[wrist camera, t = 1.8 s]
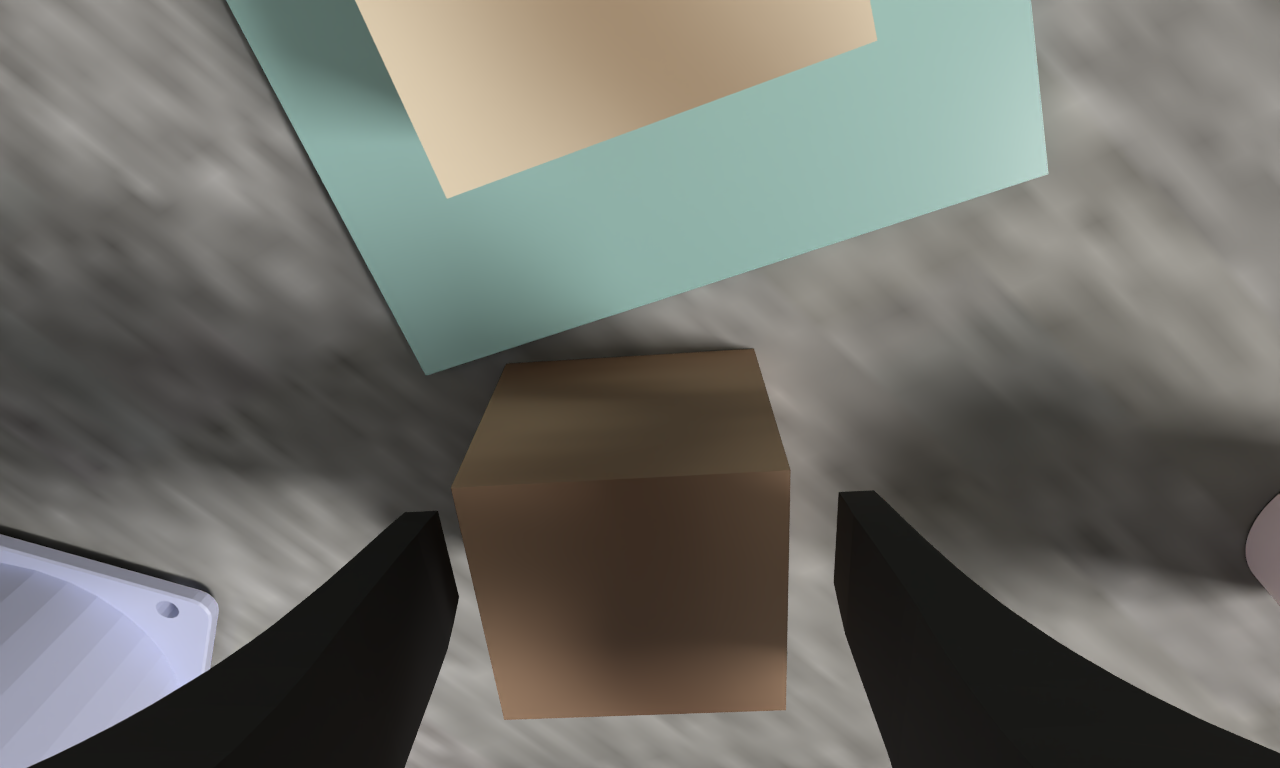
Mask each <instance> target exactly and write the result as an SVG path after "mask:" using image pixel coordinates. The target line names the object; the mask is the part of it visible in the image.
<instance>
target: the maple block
mask: <svg viewBox="0 0 1280 768" xmlns="http://www.w3.org/2000/svg"><path fill="white" fill-rule="evenodd" d="M355 1H356V3H357V6H358V8H359V10H360V12H361V14H362V16H363V19H364V21H365V23H366V25H367V27H368V29H369V31H370V34H371V36H372V38H373V40H374V42H375V44H376V47H377V49H378V51H379V53H380V55H381V57H382V60H383V62H384V64H385V66H386V68H387V70H388V73H389V75H390V77H391V79H392V81H393V83H394V85H395V88H396V90H397V92H398V94H399V96H400V98H401V101H402V103H403V105H404V107H405V109H406V111H407V114H408V116H409V118H410V120H411V122H412V124H413V127H414V129H415V131H416V133H417V135H418V137H419V140H420V142H421V144H422V146H423V148H424V150H425V152H426V155H427V157H428V159H429V161H430V163H431V165H432V168H433V170H434V172H435V174H436V176H437V178H438V181H439V183H440V185H441V187H442V189H443V191H444V194H445V196H446V198H447V199H448V198H451V197H453V196H456V195H459V194H461V193H464V192H467V191H470V190H472V189H475V188H478V187H481V186H483V185H486V184H489V183H491V182H494V181H497V180H500V179H502V178H505V177H508V176H510V175H513V174H516V173H519V172H521V171H524V170H527V169H529V168H532V167H535V166H538V165H540V164H543V163H546V162H549V161H551V160H554V159H557V158H559V157H562V156H565V155H568V154H570V153H573V152H576V151H578V150H581V149H584V148H587V147H589V146H592V145H595V144H598V143H600V142H603V141H606V140H608V139H611V138H614V137H617V136H619V135H622V134H625V133H627V132H630V131H633V130H636V129H638V128H641V127H644V126H646V125H649V124H652V123H655V122H657V121H660V120H663V119H666V118H668V117H671V116H674V115H676V114H679V113H682V112H685V111H687V110H690V109H693V108H695V107H698V106H701V105H704V104H706V103H709V102H712V101H714V100H717V99H720V98H723V97H725V96H728V95H731V94H734V93H736V92H739V91H742V90H744V89H747V88H750V87H753V86H755V85H758V84H761V83H763V82H766V81H769V80H772V79H774V78H777V77H780V76H782V75H785V74H788V73H791V72H793V71H796V70H799V69H802V68H804V67H807V66H810V65H812V64H815V63H818V62H821V61H823V60H826V59H829V58H831V57H834V56H837V55H840V54H842V53H845V52H848V51H851V50H853V49H856V48H859V47H861V46H864V45H867V44H870V43H872V42H875V41H877V36H876V30H875V25H874V19H873V14H872V9H871V3H870V0H355Z"/></svg>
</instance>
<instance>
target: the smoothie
mask: <svg viewBox="0 0 1280 768" xmlns="http://www.w3.org/2000/svg"><path fill="white" fill-rule="evenodd" d="M1246 560H1247V563H1248V566H1249V568H1250V570H1251V571H1252V573H1253V574H1254V576H1255V577H1256V578H1257V579H1258V580H1259V582H1260V583H1261V584H1262V585H1263V586H1264V588H1265V589H1266V590H1267V591H1268V592H1269V594H1270V595H1271V596H1272V597H1273V598H1274V600H1275V601H1276V602H1277V603H1278V604H1279V606H1280V494H1278V495H1277V496H1276V497H1275V498H1274V499H1273V500H1272V501H1271V502H1270V503H1269V504H1268V505H1267V506H1266V507H1265V508H1264V509H1263V510H1262V512H1261V513H1260V514H1259V516H1258V517H1257V519H1256V520H1255V522H1254V524H1253V526H1252V527H1251V530H1250V532H1249V535H1248V538H1247V542H1246Z"/></svg>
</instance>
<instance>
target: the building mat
mask: <svg viewBox="0 0 1280 768" xmlns="http://www.w3.org/2000/svg"><path fill="white" fill-rule="evenodd" d="M226 1H227V3H228V5H229V7H230V9H231V10H232V12H233V14H234V16H235V18H236V20H237V22H238V24H239V25H240V27H241V29H242V31H243V33H244V35H245V37H246V39H247V41H248V42H249V44H250V46H251V48H252V50H253V52H254V54H255V56H256V57H257V59H258V61H259V63H260V65H261V67H262V69H263V71H264V72H265V74H266V76H267V78H268V80H269V82H270V84H271V86H272V88H273V89H274V91H275V93H276V95H277V97H278V99H279V101H280V103H281V104H282V106H283V108H284V110H285V112H286V114H287V116H288V118H289V119H290V121H291V123H292V125H293V127H294V129H295V131H296V133H297V135H298V136H299V138H300V140H301V142H302V144H303V146H304V148H305V150H306V151H307V153H308V155H309V157H310V159H311V161H312V163H313V165H314V166H315V168H316V170H317V172H318V174H319V176H320V178H321V180H322V182H323V183H324V185H325V187H326V189H327V191H328V193H329V195H330V197H331V198H332V200H333V202H334V204H335V206H336V208H337V210H338V212H339V213H340V215H341V217H342V219H343V221H344V223H345V225H346V227H347V229H348V230H349V232H350V234H351V236H352V238H353V240H354V242H355V244H356V245H357V247H358V249H359V251H360V253H361V255H362V257H363V259H364V260H365V262H366V264H367V266H368V268H369V270H370V272H371V274H372V276H373V277H374V279H375V281H376V283H377V285H378V287H379V289H380V291H381V292H382V294H383V296H384V298H385V300H386V302H387V304H388V306H389V307H390V309H391V311H392V313H393V315H394V317H395V319H396V321H397V323H398V324H399V326H400V328H401V330H402V332H403V334H404V336H405V338H406V339H407V341H408V343H409V345H410V347H411V349H412V351H413V353H414V354H415V356H416V358H417V360H418V362H419V364H420V366H421V368H422V370H423V371H424V373H425V375H426V376H427V375H430V374H433V373H436V372H439V371H442V370H445V369H448V368H451V367H454V366H458V365H461V364H464V363H467V362H470V361H473V360H476V359H479V358H482V357H485V356H488V355H492V354H495V353H498V352H501V351H504V350H507V349H510V348H513V347H516V346H519V345H522V344H525V343H529V342H532V341H535V340H538V339H541V338H544V337H547V336H550V335H553V334H556V333H559V332H562V331H566V330H569V329H572V328H575V327H578V326H581V325H584V324H587V323H590V322H593V321H596V320H599V319H603V318H606V317H609V316H612V315H615V314H618V313H621V312H624V311H627V310H630V309H633V308H637V307H640V306H643V305H646V304H649V303H652V302H655V301H658V300H661V299H664V298H667V297H670V296H674V295H677V294H680V293H683V292H686V291H689V290H692V289H695V288H698V287H701V286H704V285H707V284H711V283H714V282H717V281H720V280H723V279H726V278H729V277H732V276H735V275H738V274H741V273H744V272H748V271H751V270H754V269H757V268H760V267H763V266H766V265H769V264H772V263H775V262H778V261H782V260H785V259H788V258H791V257H794V256H797V255H800V254H803V253H806V252H809V251H812V250H815V249H819V248H822V247H825V246H828V245H831V244H834V243H837V242H840V241H843V240H846V239H849V238H852V237H856V236H859V235H862V234H865V233H868V232H871V231H874V230H877V229H880V228H883V227H886V226H889V225H893V224H896V223H899V222H902V221H905V220H908V219H911V218H914V217H917V216H920V215H923V214H926V213H930V212H933V211H936V210H939V209H942V208H945V207H948V206H951V205H954V204H957V203H960V202H964V201H967V200H970V199H973V198H976V197H979V196H982V195H985V194H988V193H991V192H994V191H997V190H1001V189H1004V188H1007V187H1010V186H1013V185H1016V184H1019V183H1022V182H1025V181H1028V180H1031V179H1034V178H1038V177H1041V176H1044V175H1047V174H1048V166H1047V156H1046V146H1045V136H1044V126H1043V116H1042V106H1041V96H1040V87H1039V77H1038V67H1037V57H1036V47H1035V37H1034V27H1033V17H1032V7H1031V0H870V3H871V9H872V14H873V19H874V25H875V30H876V36H877V41H875V42H872V43H870V44H867V45H864V46H861V47H859V48H856V49H853V50H851V51H848V52H845V53H842V54H840V55H837V56H834V57H831V58H829V59H826V60H823V61H821V62H818V63H815V64H812V65H810V66H807V67H804V68H802V69H799V70H796V71H793V72H791V73H788V74H785V75H782V76H780V77H777V78H774V79H772V80H769V81H766V82H763V83H761V84H758V85H755V86H753V87H750V88H747V89H744V90H742V91H739V92H736V93H734V94H731V95H728V96H725V97H723V98H720V99H717V100H714V101H712V102H709V103H706V104H704V105H701V106H698V107H695V108H693V109H690V110H687V111H685V112H682V113H679V114H676V115H674V116H671V117H668V118H666V119H663V120H660V121H657V122H655V123H652V124H649V125H646V126H644V127H641V128H638V129H636V130H633V131H630V132H627V133H625V134H622V135H619V136H617V137H614V138H611V139H608V140H606V141H603V142H600V143H598V144H595V145H592V146H589V147H587V148H584V149H581V150H578V151H576V152H573V153H570V154H568V155H565V156H562V157H559V158H557V159H554V160H551V161H549V162H546V163H543V164H540V165H538V166H535V167H532V168H529V169H527V170H524V171H521V172H519V173H516V174H513V175H510V176H508V177H505V178H502V179H500V180H497V181H494V182H491V183H489V184H486V185H483V186H481V187H478V188H475V189H472V190H470V191H467V192H464V193H461V194H459V195H456V196H453V197H451V198H448V199H447V198H446V196H445V194H444V191H443V189H442V187H441V185H440V183H439V181H438V178H437V176H436V174H435V172H434V170H433V168H432V165H431V163H430V161H429V159H428V157H427V155H426V152H425V150H424V148H423V146H422V144H421V142H420V140H419V137H418V135H417V133H416V131H415V129H414V127H413V124H412V122H411V120H410V118H409V116H408V114H407V111H406V109H405V107H404V105H403V103H402V101H401V98H400V96H399V94H398V92H397V90H396V88H395V85H394V83H393V81H392V79H391V77H390V75H389V73H388V70H387V68H386V66H385V64H384V62H383V60H382V57H381V55H380V53H379V51H378V49H377V47H376V44H375V42H374V40H373V38H372V36H371V34H370V31H369V29H368V27H367V25H366V23H365V21H364V19H363V16H362V14H361V12H360V10H359V8H358V6H357V3H356V1H355V0H226Z"/></svg>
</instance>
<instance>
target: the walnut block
mask: <svg viewBox="0 0 1280 768" xmlns="http://www.w3.org/2000/svg"><path fill="white" fill-rule="evenodd" d="M451 491H452V495H453V499H454V504H455V508H456V512H457V517H458V521H459V525H460V530H461V534H462V538H463V543H464V547H465V551H466V556H467V560H468V564H469V569H470V573H471V577H472V582H473V586H474V590H475V595H476V599H477V603H478V608H479V612H480V616H481V621H482V625H483V629H484V634H485V638H486V642H487V647H488V651H489V655H490V660H491V664H492V668H493V673H494V677H495V681H496V686H497V690H498V694H499V699H500V703H501V707H502V712H503V716H504V720H512V719H541V718H570V717H599V716H628V715H657V714H686V713H715V712H744V711H773V710H786V672H787V621H788V570H789V520H790V467H789V464H788V460H787V457H786V454H785V450H784V447H783V444H782V440H781V437H780V434H779V431H778V427H777V424H776V421H775V417H774V414H773V411H772V407H771V404H770V401H769V397H768V394H767V391H766V387H765V384H764V381H763V377H762V374H761V371H760V367H759V364H758V361H757V357H756V354H755V351H754V349H741V350H724V351H708V352H691V353H675V354H658V355H641V356H625V357H608V358H592V359H575V360H559V361H542V362H526V363H509V364H506V366H505V368H504V370H503V372H502V375H501V377H500V379H499V381H498V384H497V386H496V388H495V390H494V392H493V395H492V397H491V399H490V401H489V404H488V406H487V408H486V410H485V413H484V415H483V417H482V419H481V422H480V424H479V426H478V428H477V431H476V433H475V435H474V437H473V439H472V442H471V444H470V446H469V448H468V451H467V453H466V455H465V457H464V460H463V462H462V464H461V466H460V469H459V471H458V473H457V475H456V478H455V480H454V482H453V484H452V486H451Z"/></svg>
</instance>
